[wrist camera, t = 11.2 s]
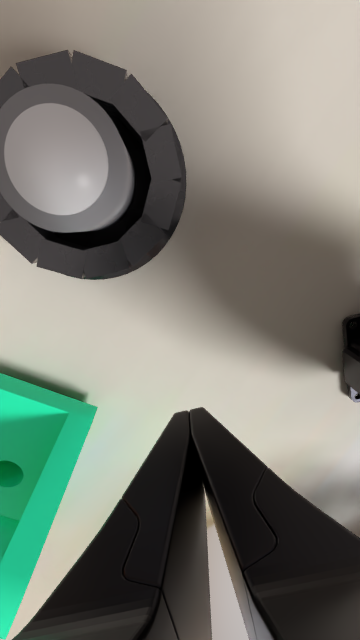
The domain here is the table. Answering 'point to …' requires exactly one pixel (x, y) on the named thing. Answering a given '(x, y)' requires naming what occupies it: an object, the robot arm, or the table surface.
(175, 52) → the table surface
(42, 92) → the cap
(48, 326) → the table surface
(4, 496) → the camera mount
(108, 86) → the dark grey ashtray
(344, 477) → the table surface
